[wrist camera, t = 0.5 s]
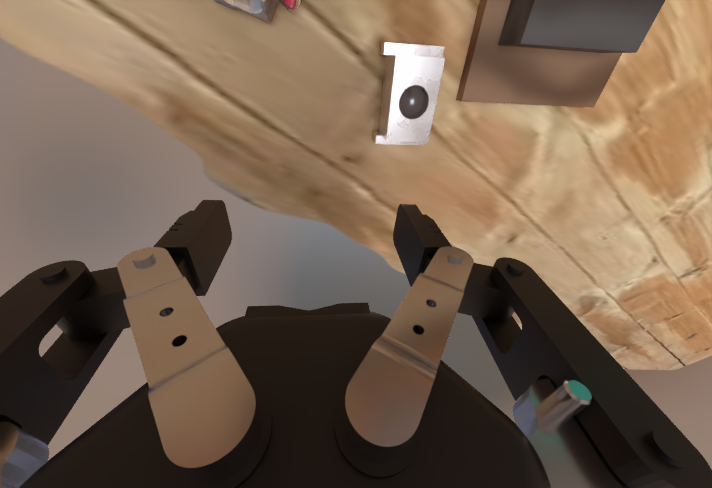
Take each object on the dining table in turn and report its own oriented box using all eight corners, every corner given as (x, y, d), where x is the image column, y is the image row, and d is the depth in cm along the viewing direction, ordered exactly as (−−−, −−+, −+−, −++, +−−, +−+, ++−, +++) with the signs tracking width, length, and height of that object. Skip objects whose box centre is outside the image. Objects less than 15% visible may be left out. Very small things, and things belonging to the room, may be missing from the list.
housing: (380, 43, 28) (390, 41, 24) (436, 47, 29) (455, 45, 25) (372, 139, 34) (379, 150, 30) (419, 140, 35) (432, 151, 31)
